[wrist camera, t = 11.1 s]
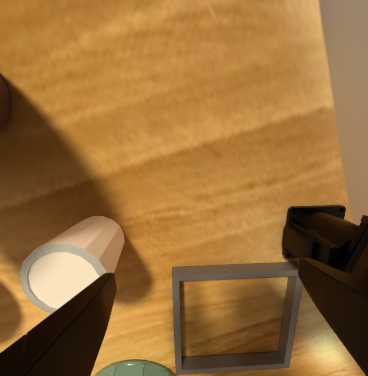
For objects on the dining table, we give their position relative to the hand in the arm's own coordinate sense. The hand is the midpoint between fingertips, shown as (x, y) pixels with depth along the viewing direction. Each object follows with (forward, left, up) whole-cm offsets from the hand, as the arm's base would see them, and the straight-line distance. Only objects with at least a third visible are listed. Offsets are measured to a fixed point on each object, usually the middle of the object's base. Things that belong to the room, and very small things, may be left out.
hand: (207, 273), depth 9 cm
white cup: (+11, +4, -12) cm, 17 cm away
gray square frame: (-5, +16, -12) cm, 21 cm away
